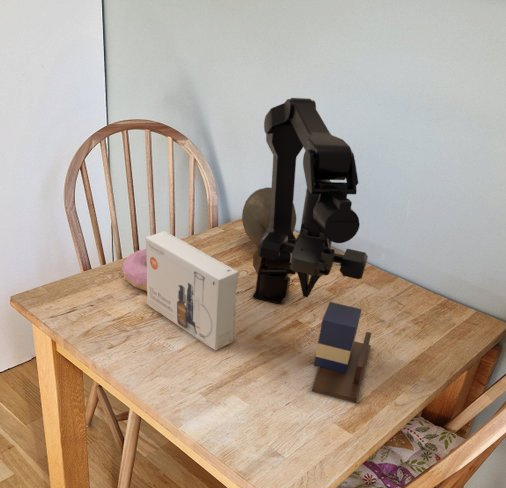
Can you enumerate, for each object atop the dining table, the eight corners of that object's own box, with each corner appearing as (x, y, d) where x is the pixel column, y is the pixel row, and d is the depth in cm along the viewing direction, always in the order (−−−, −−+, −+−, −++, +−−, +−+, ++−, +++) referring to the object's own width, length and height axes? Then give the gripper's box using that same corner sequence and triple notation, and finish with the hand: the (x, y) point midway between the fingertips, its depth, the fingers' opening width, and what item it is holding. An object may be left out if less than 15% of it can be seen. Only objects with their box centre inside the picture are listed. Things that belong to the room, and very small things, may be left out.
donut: (110, 288, 132) (110, 267, 130) (137, 259, 145) (137, 239, 142) (179, 302, 130) (180, 281, 127) (200, 271, 143) (201, 252, 140)
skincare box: (144, 306, 127) (144, 236, 119) (164, 298, 131) (166, 229, 123) (213, 352, 116) (219, 278, 107) (234, 342, 119) (241, 270, 111)
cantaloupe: (304, 249, 158) (312, 194, 150) (264, 263, 150) (271, 205, 142) (266, 230, 167) (272, 176, 159) (227, 242, 158) (231, 185, 150)
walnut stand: (311, 391, 109) (315, 368, 106) (330, 339, 124) (334, 318, 121) (355, 403, 107) (361, 380, 105) (369, 349, 122) (374, 328, 119)
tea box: (322, 319, 109) (355, 327, 107) (329, 301, 114) (361, 309, 113) (313, 365, 114) (345, 373, 113) (321, 345, 120) (351, 353, 118)
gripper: (253, 223, 100) (244, 305, 108) (366, 247, 96) (348, 330, 105) (271, 200, 109) (262, 277, 117) (375, 222, 105) (358, 300, 114)
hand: (305, 296), depth 113 cm, fingers closed
